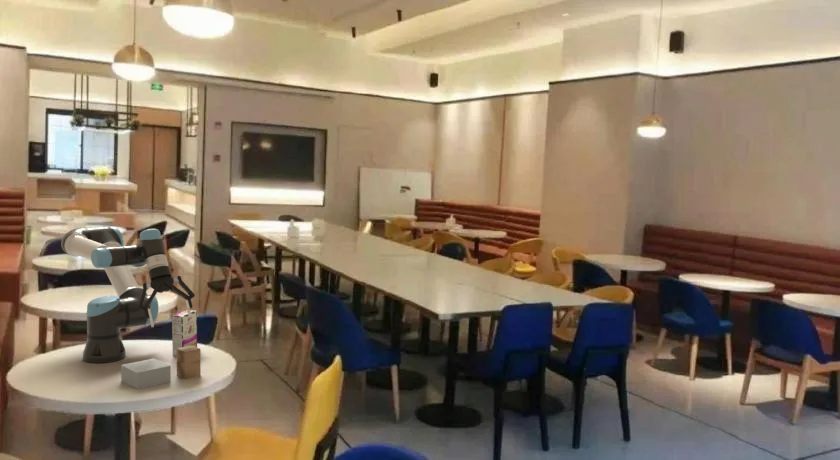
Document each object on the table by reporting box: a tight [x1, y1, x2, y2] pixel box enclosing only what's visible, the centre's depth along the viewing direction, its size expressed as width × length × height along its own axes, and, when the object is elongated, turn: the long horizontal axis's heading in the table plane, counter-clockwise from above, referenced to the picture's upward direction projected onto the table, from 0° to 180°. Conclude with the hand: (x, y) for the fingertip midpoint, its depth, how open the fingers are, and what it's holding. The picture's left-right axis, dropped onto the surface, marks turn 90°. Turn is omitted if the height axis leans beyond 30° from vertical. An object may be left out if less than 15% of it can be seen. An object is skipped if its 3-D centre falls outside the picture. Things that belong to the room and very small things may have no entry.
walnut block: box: [176, 345, 202, 380], centre depth 249 cm, size 6×6×10 cm
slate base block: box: [120, 357, 172, 390], centre depth 242 cm, size 12×12×6 cm
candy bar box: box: [171, 309, 198, 357], centre depth 277 cm, size 11×5×16 cm, turn 168°
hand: (171, 321), depth 257 cm, fingers open, 13 cm apart
